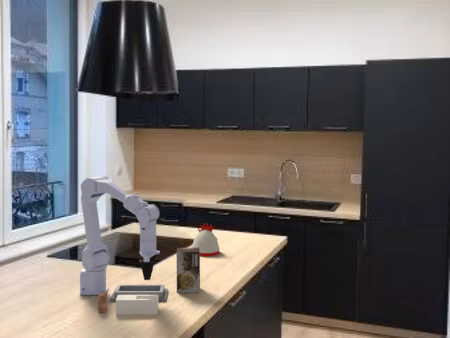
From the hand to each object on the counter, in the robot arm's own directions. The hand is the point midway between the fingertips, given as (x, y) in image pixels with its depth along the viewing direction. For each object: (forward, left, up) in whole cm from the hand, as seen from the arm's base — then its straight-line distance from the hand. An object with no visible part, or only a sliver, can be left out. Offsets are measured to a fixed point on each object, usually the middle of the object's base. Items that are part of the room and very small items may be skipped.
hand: (148, 276), depth 191 cm
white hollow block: (-3, -8, -10) cm, 13 cm away
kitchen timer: (+21, +74, -10) cm, 77 cm away
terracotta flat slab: (-15, -7, -10) cm, 19 cm away
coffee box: (+14, +15, -10) cm, 23 cm away
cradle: (-4, +8, -10) cm, 13 cm away
